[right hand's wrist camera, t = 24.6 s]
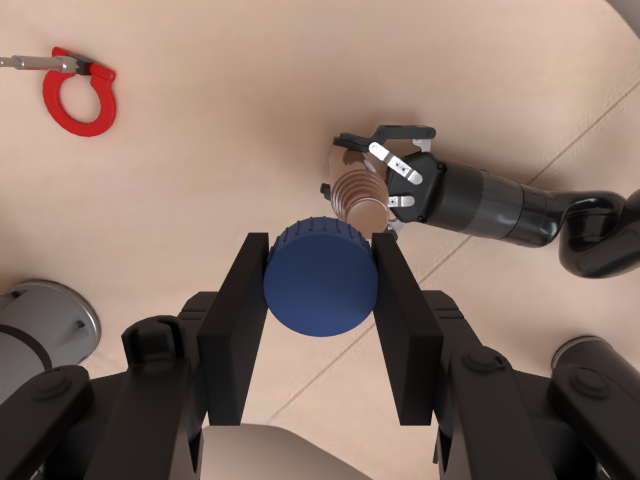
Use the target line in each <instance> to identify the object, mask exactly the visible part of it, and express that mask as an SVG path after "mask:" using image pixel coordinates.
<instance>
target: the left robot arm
mask: <svg viewBox="0 0 640 480" xmlns="http://www.w3.org/2000/svg"><path fill="white" fill-rule="evenodd" d="M435 135H436V131H435V129H434V128H431V127H428V126H405V125H381V126H379V127H378V128H377V131H376V132H375V134H374V135H373V136H372V137H371V138H363V137H360V136H356V135H352V134H348V133H341V134H340V137H335V136H334V140H333V144H334V145H337V146H340V147H344V148H348V149H351V150H355V151H359V152H363V153H366V152H371V153H372V154H374V155H375V156H376V157H378V158H379V159H380V160H382V161H383V162H384V163H386V164H387V165H388V168H387V171H386V179H385V181H384V182H385V183H386V186H387V188H388V194H389V203H388V207H389V209H390V210H391V211H392V212H393V214H394V215H395V216H396V218H395V219H393V220H390V219H389V222H388V225H387V227H386V228H385V230H384V231H383V232H382V233H392V235H393V237H394V239H395V241H396V240H397V239H398V236H397V233H398V232H399V230H400V229H401V227H402V226H403V224H404V223H409V222H420V223H423V224H427V225H431V226H435V227H439V228H443V229H447V230H451V231H455V232H459V233H463V234H467V235H471V236H476V237H482V238H491V239H496V240H500V241H504V242H508V243H512V244H516V245H519V246H523V247H529V248H540V247H544V246H546V245H548V244H549V243H551V242H552V241H553V240H554V239H555V238H556V236H557V235H558V233H559V232H560V241H559V260H560V263H561V265H562V266H563V267H564V268H565V269H566V270H567V271H568V272H570V273H571V274H573V275H575V276H578V277H581V278H586V279H605V278H611V277H616V276H619V275H623V274H625V273H628V272H631V271H633V270H635V269H637V268H640V189H639V190H637V191H635V192H634V193H633V194H631V195H630V197H629V198H628V199H626V198H624V197H623V196H621V195H620V194H618V193H615V192H612V191H600V190H596V191H553V190H543V189H539V188H536V187H532V186H528V185H525V184H521V183H517V182H514V181H511V180H509V179H506V178H504V177H502V176H499V175H496V174H492V173H489V172H487V171H485V170H478V169H474V168H470V167H467V166H463V165H459V164H455V163H452V162H448V161H444V160H441V159H438V158H436V157H435V156H434V155H433V154H432V153H430V150H431V141H432V139H433V138H434V137H435ZM386 139H411V142H412V144H414V145H416V146H419V148H420V151H418V152H416V153H413V154H410V155H408V156H405V157H402V158H400V159H399V158H398V157H397V156H395V155H394V154H393V153H391V152H390V151H389V150H387V149H386V148H384V147H383V146H382V145H383V143H384V142H385V141H386ZM320 192H321V193H323V194H324V198H326V199H327V200H330V201H331V196H330V185H329V184H325V183H322V185H321V189H320ZM388 207H387V208H388ZM565 363H572V364H581V365H584V366H588V367H591V368H594V369H596V370H598V371H600V372H602V373H604V374H606V375H608V376H610V377H611V378H612V379H614V380H615V381H616V382H618V383H619V384H620V385H621V386H622V387H624V388H625V389H626V390H627V391H628V392H629V393H630V394H631V395H632V396H633V397H634V398H635V399H636V400H638V401H639V402H640V372H639V371H638V370H637V369H635V368H634V367H633V366H632V365H631V364H630V363H629V362H628V361H626V360H625V359H624V358H623V357H622V356H621V355H620V354H619V353H617V352H616V351H615V350H614V349H613V348H612V346H611V345H609V344H608V343H607V342H606V341H605V340H603V339H601V338H597V337H581V338H578V339H575V340H572V341H570V342H568V343H567V344H565V345H564V346H563V347H561V348H560V349H559V350H558V352H557V353H556V354H555V356H554V358H553V361H552V370H553V369H554V368H555V367H556V366H558V365H560V364H565ZM611 480H613V479H612V478H611Z"/></svg>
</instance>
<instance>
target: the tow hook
mask: <svg viewBox="0 0 640 480" xmlns="http://www.w3.org/2000/svg"><path fill="white" fill-rule="evenodd" d="M52 57H53V58H48V57H32V56H12V57H11V58H6V57H0V67H14V68H16V69H18V70H49V72H48V73H47V74H46V76H45V79H44V82H43V97H44V102H45V104H46V107H47V109H48V111H49V113H50V114H51V116H52V117H53V118H54V120H55V121H56V122H57V123H58V124H59V125H60V126H61V127H63V128H64V129H66V130H67V131H69V132H71V133H73V134H76V135H79V136H85V137H91V136H96V135H100V134H102V133H104V132H105V131H107V130H108V129H109V128H110V126H111V125H112V123H113V121H114V119H115V114H116V104H115V98H114V96H113V93H112V91H111V89H110V88H111V82H113V81H114V79H115V72H114V71H112V70H110V69H108V68H105V67H103V66H101V65H98V64H96V63H95V62H94V61H91V60H89V59H87V58H84V57H82V56H80V55H76V54H73V53H70V52H68V51H66V50H63V49H61V48H59V47H54V48H53V50H52ZM75 73H77V74H80V75H92V76H91V86H92V87H93V88H94V89H95V91H96V92H97V94H98V96H99V99H100V103H101V111H100V114H99V117H98V118H97V119H96V120H95V121H94V122H92V123H90V124H84V123H80V122H77V121H75V120H74V119H72V118H71V117H70V116H69V115H68V114H67V113H66V112H65V111H64V109H63V108H62V105H61V103H60V100H59V88H60V85H61V84H62V82H63V81H64V80H65V79H67V78H69V77H73V76H74V74H75Z"/></svg>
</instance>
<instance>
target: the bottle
mask: <svg viewBox="0 0 640 480" xmlns="http://www.w3.org/2000/svg"><path fill="white" fill-rule="evenodd" d="M328 167H329V181H330V196H331V205H332V208H333V210H334V212H335V214H336V215H337V217H338V218H339V219H340V220H341V221H343V222H345V223H347V224H349V223H350V224H351V226H352V227H354V228H355V229H356V230H357V231H360V232H361V233H362V236H363V237H364V238H365V239H372V233H382V232H383V231H384V230H385V228H386V227H387V225H388V222H389V214H388V210H387V207H388V203H389V194H388V188H387V186H386V183H385V182H384V180H383V179H382V177H381V176H380V174H379V173H378V171H377V170H376V169H375V167H374V166H373V164H372V163H371V161H370V160H369V158H368V157H367V156H366V154H365V153H363V152H359V151H355V150H351V149H348V148H344V147H340V146H337V145H335V146H334V147H333V148H332V150H331V151H330V153H329V157H328Z"/></svg>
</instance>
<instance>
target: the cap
mask: <svg viewBox="0 0 640 480" xmlns="http://www.w3.org/2000/svg"><path fill="white" fill-rule="evenodd" d="M377 286H378V271H377V266H376V263H375V260H374V257H373V254H372V251H371V247H370V244H369V242H368V241H366V240H365V238H364V237H363V236H362V233H361V232H360V231H357V230H356V229H355V228H354V227H352V226H351V224H350V223H349V224H347V223H345V222H343V221H340V220H339V219H338V218H337V219H334V218H328V217H326V216H323V217H314V218H312V217H310V218H309V219H305V220H302V221H297V223H295V224H293V225H292V226H290V227H289V228H288V227H287V228H286V230H285V231H284V232H283V233H282V234H281V235H280V236H278V237H277V239H276V242H275V244H274V246H271V249H270V252H269V255H268V258H267V265H266V268H265V271H264V279H263V292H264V297H265V300H266V303H267V305H268V307H269V309H270V310H271V312H272V314H273V315H274V316H275V317H276V318H277V319H278V320H279V321H280V322H281V323H282V324H283V325H285V326H286V327H288V328H290V329H291V330H293V331H296V332H298V333H301V334H304V335H308V336H315V337H328V336H335V335H338V334H342V333H345V332H347V331H349V330H351V329H353V328H355V327H356V326H358V325H359V324H361V323H362V322H363V321H364V320H365V319H366V318H367V317H368V316H369V314H370V313H371V311H372V310H373V308H374V306H375V304H376V300H377Z"/></svg>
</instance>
